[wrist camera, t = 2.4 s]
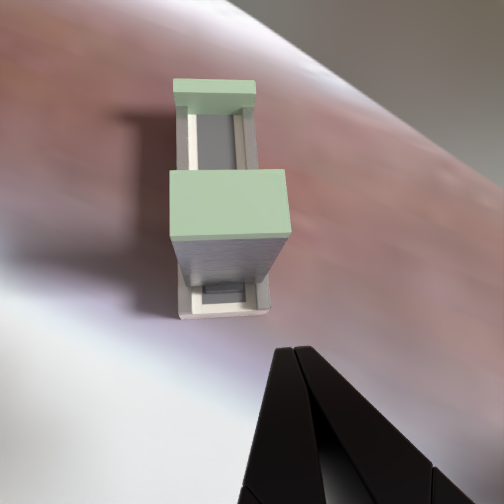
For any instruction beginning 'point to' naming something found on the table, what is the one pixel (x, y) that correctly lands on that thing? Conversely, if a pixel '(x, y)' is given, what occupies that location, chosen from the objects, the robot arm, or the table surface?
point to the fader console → (217, 158)
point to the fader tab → (227, 225)
